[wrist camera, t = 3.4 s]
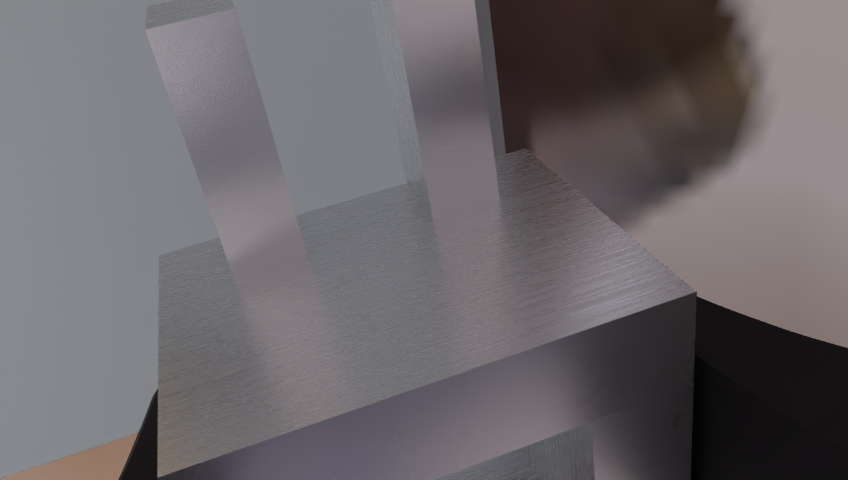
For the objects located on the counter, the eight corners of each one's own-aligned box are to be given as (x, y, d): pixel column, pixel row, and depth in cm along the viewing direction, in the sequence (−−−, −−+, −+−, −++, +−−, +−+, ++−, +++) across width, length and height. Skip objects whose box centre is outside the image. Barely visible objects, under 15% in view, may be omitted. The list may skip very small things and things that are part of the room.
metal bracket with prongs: (552, 413, 13) (686, 608, 10) (267, 516, 12) (307, 771, 9) (502, -76, 9) (707, -28, 6) (63, 25, 8) (-8, 158, 5)
